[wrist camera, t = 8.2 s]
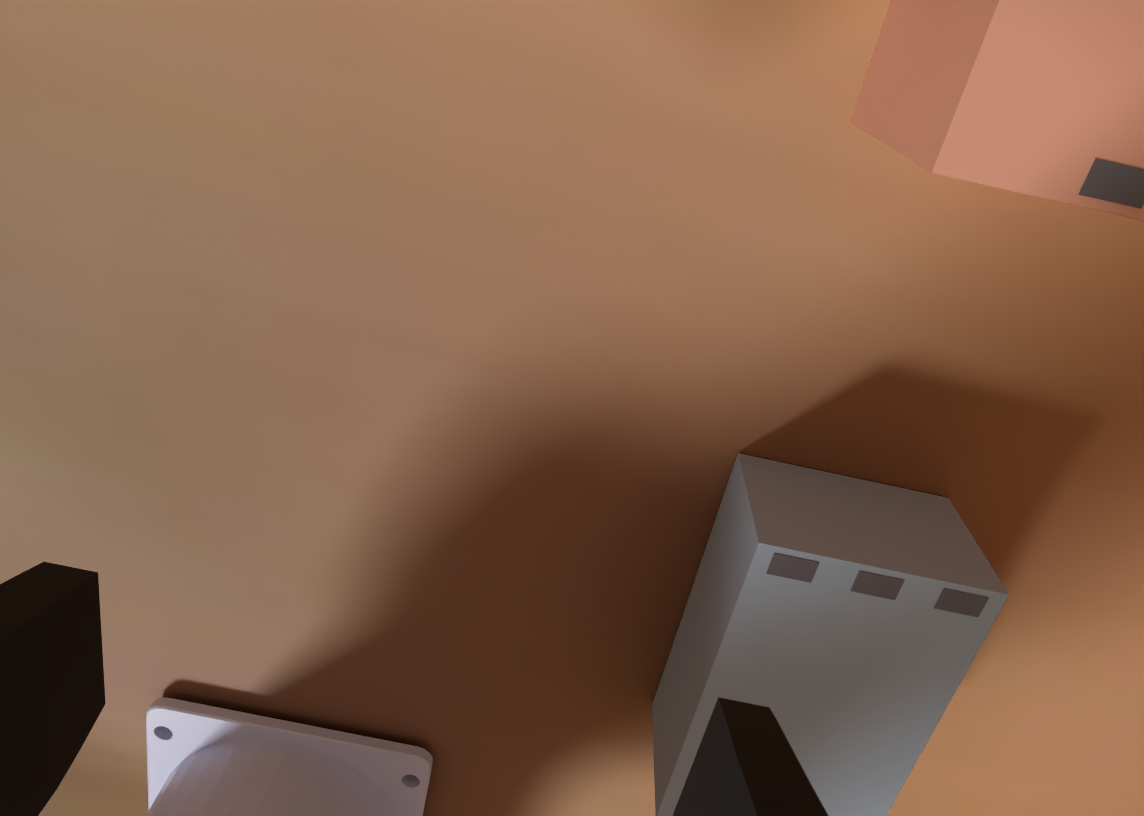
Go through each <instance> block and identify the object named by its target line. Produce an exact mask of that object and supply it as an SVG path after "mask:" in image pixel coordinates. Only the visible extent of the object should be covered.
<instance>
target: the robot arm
mask: <svg viewBox="0 0 1144 816" xmlns="http://www.w3.org/2000/svg"><path fill="white" fill-rule="evenodd" d="M104 705H105V690H104V672H103V654H102V637H101V619H100V602H99V584H98V572H93V571H88V570H83V569H78V568H73V567H68V566H63V565H58V564H53V563H48V562H43V563H41V564H39V565H37V566H35V567H33V568H31V569H29V570H27V571H25V572H23V573H21V574H19V575H17V576H15V577H13V578H11V579H10V580H8V581H6V582H4V583H2V584H0V816H38V815H39V813H40V812H41V811H42V809H43V808H44V806H45V805H46V804H47V802H48V801H49V799H50V798H51V797H52V795H53V794H54V792H55V791H56V789H57V788H58V786H59V784H60V783H61V781H62V779H63V778H64V776H65V774H66V773H67V771H68V769H69V767H70V766H71V764H72V762H73V761H74V759H75V757H76V756H77V754H78V752H79V750H80V749H81V747H82V745H83V743H84V741H85V740H86V738H87V736H88V734H89V732H90V730H91V729H92V727H93V725H94V723H95V721H96V720H97V718H98V716H99V714H100V712H101V711H102V709H103V707H104ZM146 736H147V773H148V809H149V811H148V813H147V814H146V816H423V812H424V807H425V801H426V796H427V791H428V786H429V780H430V775H431V770H432V764H433V758H432V756H431V754H430V753H429V752H428V751H426V750H425V749H424V748H421V747H418V746H413V745H408V744H403V743H398V742H393V741H387V740H382V739H377V738H372V737H367V736H362V735H357V734H352V733H347V732H341V731H336V730H331V729H326V728H321V727H316V726H311V725H306V724H301V723H296V722H290V721H285V720H280V719H275V718H270V717H265V716H260V715H255V714H250V713H245V712H239V711H234V710H229V709H224V708H219V707H214V706H209V705H204V704H199V703H194V702H188V701H183V700H178V699H173V698H159V699H156V700H155V701H154V702H153V703H152V704H151V706H150V707H149V709H148V710H147V713H146ZM411 775H414V776H411ZM673 816H828V814H827V812H826V810H825V808H824V807H823V805H822V803H821V801H820V799H819V797H818V796H817V794H816V792H815V790H814V788H813V787H812V785H811V783H810V781H809V779H808V777H807V775H806V774H805V772H804V770H803V768H802V766H801V764H800V762H799V760H798V759H797V757H796V755H795V753H794V751H793V749H792V747H791V745H790V744H789V742H788V740H787V738H786V736H785V734H784V732H783V730H782V728H781V727H780V725H779V723H778V721H777V719H776V717H775V716H774V714H773V712H772V711H771V709H770V708H769V707H765V706H760V705H755V704H750V703H745V702H740V701H735V700H730V699H725V698H720V697H718V699H717V702H716V704H715V707H714V710H713V712H712V715H711V717H710V720H709V722H708V725H707V728H706V730H705V733H704V735H703V738H702V741H701V743H700V746H699V748H698V751H697V753H696V756H695V759H694V761H693V764H692V766H691V769H690V772H689V774H688V777H687V779H686V782H685V785H684V787H683V790H682V792H681V795H680V797H679V800H678V803H677V805H676V808H675V810H674V813H673Z"/></svg>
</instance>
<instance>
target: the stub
mask: <svg viewBox="0 0 1144 816" xmlns="http://www.w3.org/2000/svg"><path fill="white" fill-rule="evenodd" d="M850 123H851V124H853V125H855V126H856V127H858V128H859V129H861V130H863V131H864V132H866V133H868V134H869V135H871V136H872V137H874V138H876V139H877V140H879V141H881V142H882V143H884V144H885V145H887V146H889V147H890V148H892V149H894V150H895V151H897V152H898V153H900V154H902V155H903V156H905V157H907V158H908V159H910V160H912V161H913V162H915V163H916V164H918V165H920V166H921V167H923V168H925V169H926V170H928V171H929V172H931V173H934V174H939V175H943V176H948V177H952V178H956V179H961V180H965V181H970V182H974V183H978V184H983V185H987V186H992V187H996V188H1001V189H1005V190H1009V191H1014V192H1018V193H1023V194H1027V195H1031V196H1036V197H1040V198H1045V199H1049V200H1054V201H1058V202H1062V203H1067V204H1071V205H1076V206H1080V207H1084V208H1089V209H1093V210H1098V211H1102V212H1107V213H1111V214H1115V215H1120V216H1124V217H1129V218H1133V219H1137V220H1142V221H1144V0H891V1H890V4H889V7H888V10H887V13H886V16H885V19H884V22H883V25H882V28H881V31H880V34H879V37H878V40H877V43H876V46H875V49H874V52H873V54H872V57H871V60H870V63H869V66H868V69H867V72H866V75H865V78H864V81H863V84H862V87H861V90H860V93H859V96H858V99H857V102H856V105H855V107H854V110H853V113H852V116H851V119H850Z"/></svg>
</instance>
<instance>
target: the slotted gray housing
mask: <svg viewBox="0 0 1144 816" xmlns="http://www.w3.org/2000/svg"><path fill="white" fill-rule="evenodd" d="M1008 596H1009V594H1008V592H1007V591H1006V589H1005V587H1004V586H1003V584H1002V583H1001V581H1000V579H999V578H998V576H997V575H996V573H995V571H994V570H993V568H992V567H991V565H990V563H989V562H988V560H987V559H986V557H985V555H984V554H983V552H982V551H981V549H980V547H979V546H978V544H977V543H976V541H975V539H974V538H973V536H972V535H971V533H970V531H969V530H968V528H967V527H966V525H965V523H964V522H963V520H962V519H961V517H960V515H959V514H958V512H957V511H956V509H955V507H954V506H953V504H952V503H951V501H950V499H949V498H947V497H942V496H937V495H933V494H928V493H923V492H919V491H914V490H909V489H904V488H900V487H895V486H890V485H886V484H881V483H876V482H871V481H867V480H862V479H857V478H853V477H848V476H843V475H839V474H834V473H829V472H824V471H820V470H815V469H810V468H806V467H801V466H796V465H791V464H787V463H782V462H777V461H773V460H768V459H763V458H758V457H754V456H749V455H744V454H740V453H738V454H737V457H736V460H735V463H734V466H733V469H732V472H731V475H730V478H729V481H728V484H727V487H726V490H725V492H724V495H723V498H722V501H721V504H720V507H719V510H718V513H717V516H716V519H715V522H714V525H713V528H712V531H711V534H710V537H709V539H708V542H707V545H706V548H705V551H704V554H703V557H702V560H701V563H700V566H699V569H698V572H697V575H696V578H695V581H694V583H693V586H692V589H691V592H690V595H689V598H688V601H687V604H686V607H685V610H684V613H683V616H682V619H681V622H680V625H679V627H678V630H677V633H676V636H675V639H674V642H673V645H672V648H671V651H670V654H669V657H668V660H667V663H666V666H665V669H664V671H663V674H662V677H661V680H660V683H659V686H658V689H657V692H656V695H655V698H654V701H653V704H652V716H653V746H654V777H655V808H656V816H673V813H674V810H675V808H676V805H677V803H678V800H679V797H680V795H681V792H682V790H683V787H684V785H685V782H686V779H687V777H688V774H689V772H690V769H691V766H692V764H693V761H694V759H695V756H696V753H697V751H698V748H699V746H700V743H701V741H702V738H703V735H704V733H705V730H706V728H707V725H708V722H709V720H710V717H711V715H712V712H713V710H714V707H715V704H716V702H717V699H718V697H720V698H725V699H730V700H735V701H740V702H745V703H750V704H755V705H760V706H765V707H769V708H770V709H771V711H772V712H773V714H774V716H775V717H776V719H777V721H778V723H779V725H780V727H781V728H782V730H783V732H784V734H785V736H786V738H787V740H788V742H789V744H790V745H791V747H792V749H793V751H794V753H795V755H796V757H797V759H798V760H799V762H800V764H801V766H802V768H803V770H804V772H805V774H806V775H807V777H808V779H809V781H810V783H811V785H812V787H813V788H814V790H815V792H816V794H817V796H818V797H819V799H820V801H821V803H822V805H823V807H824V808H825V810H826V812H827V814H828V816H887V814H888V812H889V810H890V808H891V807H892V805H893V803H894V801H895V799H896V798H897V796H898V794H899V792H900V790H901V789H902V787H903V785H904V783H905V781H906V780H907V778H908V776H909V774H910V772H911V771H912V769H913V767H914V765H915V763H916V762H917V760H918V758H919V756H920V754H921V753H922V751H923V749H924V747H925V745H926V744H927V742H928V740H929V738H930V736H931V735H932V733H933V731H934V729H935V727H936V726H937V724H938V722H939V720H940V718H941V717H942V715H943V713H944V711H945V709H946V708H947V706H948V704H949V702H950V700H951V699H952V697H953V695H954V693H955V691H956V690H957V688H958V686H959V684H960V682H961V681H962V679H963V677H964V675H965V673H966V672H967V670H968V668H969V666H970V665H971V663H972V661H973V659H974V657H975V656H976V654H977V652H978V650H979V648H980V647H981V645H982V643H983V641H984V639H985V638H986V636H987V634H988V632H989V630H990V629H991V627H992V625H993V623H994V621H995V620H996V618H997V616H998V614H999V612H1000V611H1001V609H1002V607H1003V605H1004V603H1005V602H1006V600H1007V598H1008Z"/></svg>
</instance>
